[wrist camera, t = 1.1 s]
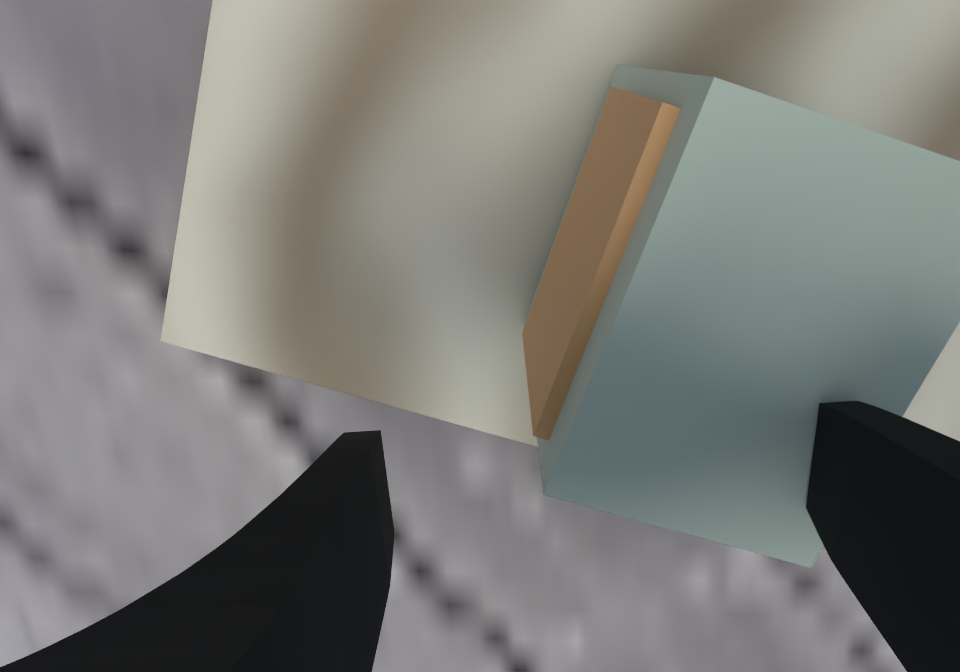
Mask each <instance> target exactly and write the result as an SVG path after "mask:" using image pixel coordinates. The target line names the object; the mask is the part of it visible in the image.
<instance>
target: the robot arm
mask: <svg viewBox="0 0 960 672" xmlns="http://www.w3.org/2000/svg"><path fill="white" fill-rule="evenodd" d="M806 509H807V511H808V513H809V516H810V518H811V520H812V522H813V524H814V526H815V528H816V531H817V533H818V535H819V537H820V539H821V541H822V543H823V545H824V547H825V549H826V551H827V553H828V555H829V557H830V558H831V560H832V562H833V563H834V565H835V567H836V568H837V570H838V571H839V573H840V574H841V576H842V577H843V579H844V580H845V582H846V583H847V585H848V586H849V588H850V589H851V591H852V592H853V593H854V595H855V596H856V598H857V599H858V601H859V602H860V604H861V605H862V607H863V608H864V610H865V611H866V613H867V614H868V615H869V617H870V618H871V620H872V621H873V623H874V624H875V626H876V627H877V629H878V630H879V631H880V633H881V634H882V636H883V637H884V639H885V640H886V642H887V643H888V644H889V646H890V647H891V649H892V650H893V652H894V653H895V655H896V656H897V658H898V659H899V660H900V662H901V663H902V665H903V666H904V668H905V669H906V671H907V672H960V441H958V440H955V439H953V438H951V437H948V436H946V435H944V434H941V433H939V432H937V431H934V430H932V429H930V428H927V427H925V426H923V425H920V424H918V423H916V422H913V421H911V420H909V419H906V418H904V417H901V416H899V415H896V414H894V413H891V412H889V411H886V410H884V409H881V408H879V407H876V406H873V405H870V404H867V403H864V402H860V401H843V402H827V403H819V409H818V417H817V425H816V433H815V441H814V448H813V456H812V464H811V472H810V479H809V487H808V495H807V503H806ZM393 544H394V526H393V519H392V511H391V504H390V497H389V489H388V482H387V474H386V467H385V460H384V452H383V445H382V438H381V430H379V431H363V432H347V433H343V434H342V435H341V436H340V437H339V438H338V439H337V440H336V441H335V442H334V443H333V444H332V445H331V446H330V447H329V448H328V449H327V450H326V451H325V452H324V453H323V454H322V455H321V456H320V457H319V458H318V459H317V460H316V461H315V462H314V463H313V464H312V465H311V466H310V467H309V468H308V469H307V470H306V471H305V472H304V473H303V474H302V475H301V476H300V477H299V478H298V479H297V480H295V481H294V482H293V483H292V484H291V485H290V486H289V487H288V488H287V489H286V490H285V491H284V492H283V493H282V494H281V495H280V496H279V497H278V498H276V499H275V500H274V501H273V502H272V503H271V504H269V505H268V506H267V507H266V508H265V509H264V510H263V511H261V512H260V513H259V514H258V515H257V516H256V517H255V518H253V519H252V520H251V521H250V522H249V523H248V524H246V525H245V526H244V527H243V528H242V529H241V530H239V531H238V532H237V533H236V534H234V535H233V536H232V537H231V538H229V539H228V540H227V541H225V542H224V543H223V544H221V545H220V546H219V547H217V548H216V549H215V550H213V551H212V552H210V553H209V554H208V555H206V556H205V557H203V558H202V559H201V560H199V561H198V562H196V563H195V564H193V565H192V566H191V567H189V568H188V569H186V570H185V571H183V572H182V573H180V574H179V575H177V576H175V577H174V578H172V579H170V580H169V581H167V582H165V583H164V584H162V585H161V586H159V587H157V588H156V589H154V590H152V591H151V592H149V593H147V594H146V595H144V596H142V597H141V598H139V599H137V600H136V601H134V602H132V603H131V604H129V605H127V606H126V607H124V608H122V609H121V610H119V611H117V612H115V613H113V614H111V615H109V616H108V617H106V618H104V619H102V620H100V621H98V622H96V623H94V624H92V625H91V626H89V627H87V628H85V629H83V630H81V631H79V632H77V633H75V634H73V635H71V636H69V637H67V638H64V639H62V640H60V641H58V642H56V643H54V644H52V645H50V646H48V647H46V648H44V649H42V650H39V651H37V652H35V653H33V654H31V655H29V656H26V657H24V658H22V659H19V660H17V661H15V662H12V663H10V664H7V665H5V666H3V667H0V672H372V667H373V663H374V658H375V654H376V649H377V645H378V640H379V635H380V631H381V626H382V621H383V617H384V612H385V607H386V603H387V598H388V593H389V588H390V579H391V569H392V557H393Z"/></svg>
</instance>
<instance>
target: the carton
mask: <svg viewBox="0 0 960 672" xmlns="http://www.w3.org/2000/svg"><path fill="white" fill-rule="evenodd" d="M959 322H960V161H958V160H955V159H952V158H949V157H946V156H943V155H940V154H938V153H935V152H932V151H929V150H926V149H923V148H920V147H917V146H914V145H911V144H908V143H905V142H903V141H900V140H897V139H894V138H891V137H888V136H885V135H882V134H879V133H876V132H873V131H870V130H867V129H865V128H862V127H859V126H856V125H853V124H850V123H847V122H844V121H841V120H838V119H835V118H832V117H830V116H827V115H824V114H821V113H818V112H815V111H812V110H809V109H806V108H803V107H800V106H797V105H794V104H792V103H789V102H786V101H783V100H780V99H777V98H774V97H771V96H768V95H765V94H762V93H759V92H757V91H754V90H751V89H748V88H745V87H742V86H739V85H736V84H733V83H730V82H727V81H724V80H721V79H719V78H716V77H710V76H702V75H694V74H686V73H678V72H670V71H662V70H654V69H646V68H639V67H631V66H623V65H617V67H616V70H615V72H614V75H613V78H612V81H611V83H610V86H609V89H608V92H607V95H606V97H605V100H604V103H603V106H602V109H601V111H600V114H599V117H598V120H597V123H596V125H595V128H594V131H593V134H592V137H591V139H590V142H589V145H588V148H587V150H586V153H585V156H584V159H583V162H582V164H581V167H580V170H579V173H578V176H577V178H576V181H575V184H574V187H573V190H572V192H571V195H570V198H569V201H568V203H567V206H566V209H565V212H564V215H563V217H562V220H561V223H560V226H559V229H558V231H557V234H556V237H555V240H554V243H553V245H552V248H551V251H550V254H549V256H548V259H547V262H546V265H545V268H544V270H543V273H542V276H541V279H540V282H539V284H538V287H537V290H536V293H535V296H534V298H533V301H532V304H531V307H530V309H529V312H528V315H527V318H526V321H525V323H524V329H523V332H522V337H523V347H524V356H525V365H526V375H527V384H528V393H529V402H530V412H531V421H532V430H533V436H535V437H537V443H538V452H539V461H540V469H541V478H542V486H543V495H546V496H550V497H553V498H557V499H561V500H564V501H568V502H572V503H575V504H579V505H583V506H586V507H590V508H594V509H597V510H601V511H605V512H608V513H612V514H616V515H619V516H623V517H627V518H630V519H634V520H638V521H641V522H645V523H649V524H652V525H656V526H660V527H663V528H667V529H670V530H674V531H678V532H681V533H685V534H689V535H692V536H696V537H700V538H703V539H707V540H711V541H714V542H718V543H722V544H725V545H729V546H733V547H736V548H740V549H744V550H747V551H751V552H755V553H758V554H762V555H766V556H769V557H773V558H776V559H780V560H784V561H787V562H791V563H795V564H798V565H802V566H806V567H809V568H811V567H812V565H813V563H814V562H815V560H816V558H817V557H818V555H819V554H820V552H821V550H822V549H823V547H824V545H823V543H822V541H821V539H820V537H819V535H818V533H817V531H816V528H815V526H814V524H813V522H812V520H811V518H810V516H809V513H808V511H807V509H806V503H807V495H808V487H809V479H810V472H811V464H812V456H813V448H814V441H815V433H816V425H817V417H818V409H819V403H827V402H843V401H860V402H864V403H867V404H870V405H873V406H876V407H879V408H881V409H884V410H886V411H889V412H891V413H894V414H896V415H899V416H901V417H902V416H903V415H904V413H905V411H906V410H907V408H908V406H909V405H910V403H911V401H912V400H913V398H914V396H915V395H916V393H917V392H918V390H919V388H920V387H921V385H922V383H923V382H924V380H925V378H926V377H927V375H928V373H929V372H930V370H931V368H932V367H933V365H934V363H935V362H936V360H937V358H938V357H939V355H940V354H941V352H942V350H943V349H944V347H945V345H946V344H947V342H948V340H949V339H950V337H951V335H952V334H953V332H954V330H955V329H956V327H957V325H958V324H959Z"/></svg>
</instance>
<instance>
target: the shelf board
mask: <svg viewBox="0 0 960 672" xmlns="http://www.w3.org/2000/svg"><path fill="white" fill-rule="evenodd" d="M617 65H623V66H631V67H639V68H646V69H654V70H662V71H670V72H678V73H686V74H694V75H702V76H710V77H716V78H719V79H721V80H724V81H727V82H730V83H733V84H736V85H739V86H742V87H745V88H748V89H751V90H754V91H757V92H759V93H762V94H765V95H768V96H771V97H774V98H777V99H780V100H783V101H786V102H789V103H792V104H794V105H797V106H800V107H803V108H806V109H809V110H812V111H815V112H818V113H821V114H824V115H827V116H830V117H832V118H835V119H838V120H841V121H844V122H847V123H850V124H853V125H856V126H859V127H862V128H865V129H867V130H870V131H873V132H876V133H879V134H882V135H885V136H888V137H891V138H894V139H897V140H900V141H903V142H905V143H908V144H911V145H914V146H917V147H920V148H923V149H926V150H929V151H932V152H935V153H938V154H940V155H943V156H946V157H949V158H952V159H955V160H958V161H960V0H213V2H212V8H211V15H210V21H209V28H208V34H207V41H206V47H205V54H204V61H203V67H202V74H201V80H200V87H199V93H198V100H197V106H196V113H195V119H194V126H193V132H192V139H191V145H190V152H189V158H188V165H187V171H186V178H185V185H184V191H183V198H182V204H181V211H180V217H179V224H178V230H177V237H176V243H175V250H174V256H173V263H172V269H171V276H170V282H169V289H168V295H167V302H166V309H165V315H164V322H163V328H162V335H161V341H162V342H165V343H169V344H172V345H176V346H180V347H183V348H187V349H190V350H194V351H197V352H201V353H205V354H208V355H212V356H215V357H219V358H222V359H226V360H230V361H233V362H237V363H240V364H244V365H247V366H251V367H255V368H258V369H262V370H265V371H269V372H272V373H276V374H279V375H283V376H287V377H290V378H294V379H297V380H301V381H304V382H308V383H312V384H315V385H319V386H322V387H326V388H329V389H333V390H337V391H340V392H344V393H347V394H351V395H354V396H358V397H362V398H365V399H369V400H372V401H376V402H379V403H383V404H387V405H390V406H394V407H397V408H401V409H404V410H408V411H412V412H415V413H419V414H422V415H426V416H429V417H433V418H436V419H440V420H444V421H447V422H451V423H454V424H458V425H461V426H465V427H469V428H472V429H476V430H479V431H483V432H486V433H490V434H494V435H497V436H501V437H504V438H508V439H511V440H515V441H519V442H522V443H526V444H529V445H533V446H536V447H538V443H537V437H535V436H533V430H532V421H531V412H530V402H529V393H528V384H527V375H526V365H525V356H524V347H523V337H522V332H523V329H524V323H525V321H526V318H527V315H528V312H529V309H530V307H531V304H532V301H533V298H534V296H535V293H536V290H537V287H538V284H539V282H540V279H541V276H542V273H543V270H544V268H545V265H546V262H547V259H548V256H549V254H550V251H551V248H552V245H553V243H554V240H555V237H556V234H557V231H558V229H559V226H560V223H561V220H562V217H563V215H564V212H565V209H566V206H567V203H568V201H569V198H570V195H571V192H572V190H573V187H574V184H575V181H576V178H577V176H578V173H579V170H580V167H581V164H582V162H583V159H584V156H585V153H586V150H587V148H588V145H589V142H590V139H591V137H592V134H593V131H594V128H595V125H596V123H597V120H598V117H599V114H600V111H601V109H602V106H603V103H604V100H605V97H606V95H607V92H608V89H609V86H610V83H611V81H612V78H613V75H614V72H615V70H616V67H617ZM902 417H904V418H906V419H909V420H911V421H913V422H916V423H918V424H920V425H923V426H925V427H927V428H930V429H932V430H934V431H937V432H939V433H941V434H944V435H946V436H948V437H951V438H953V439H955V440H958V441H960V322H959V324H958V325H957V327H956V329H955V330H954V332H953V334H952V335H951V337H950V339H949V340H948V342H947V344H946V345H945V347H944V349H943V350H942V352H941V354H940V355H939V357H938V358H937V360H936V362H935V363H934V365H933V367H932V368H931V370H930V372H929V373H928V375H927V377H926V378H925V380H924V382H923V383H922V385H921V387H920V388H919V390H918V392H917V393H916V395H915V396H914V398H913V400H912V401H911V403H910V405H909V406H908V408H907V410H906V411H905V413H904V415H903V416H902Z"/></svg>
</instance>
